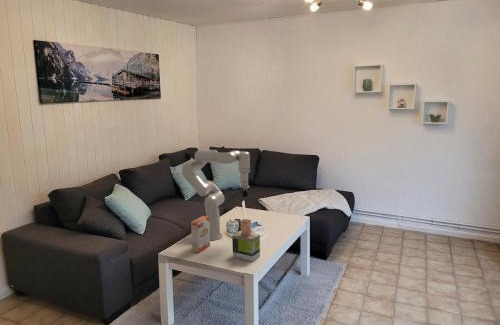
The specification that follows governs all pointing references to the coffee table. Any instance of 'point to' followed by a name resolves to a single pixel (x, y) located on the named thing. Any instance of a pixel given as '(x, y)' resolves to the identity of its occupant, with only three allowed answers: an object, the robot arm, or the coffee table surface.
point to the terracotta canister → (245, 227)
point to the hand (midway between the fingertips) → (244, 194)
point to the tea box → (246, 246)
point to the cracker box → (200, 234)
